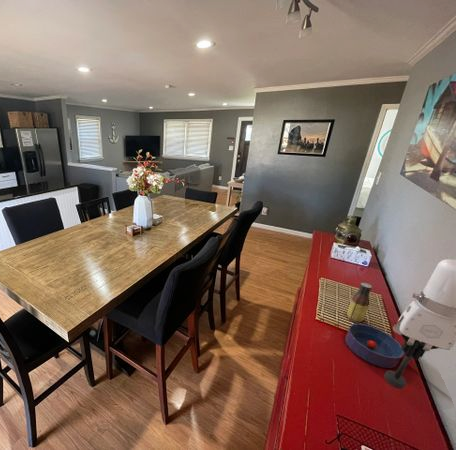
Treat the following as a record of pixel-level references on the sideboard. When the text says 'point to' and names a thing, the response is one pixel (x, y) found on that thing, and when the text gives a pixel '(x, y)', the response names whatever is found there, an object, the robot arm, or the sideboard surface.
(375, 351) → the bowl
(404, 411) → the sideboard surface
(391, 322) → the sideboard surface
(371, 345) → the tomato
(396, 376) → the dark grey rod
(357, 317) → the sauce bottle
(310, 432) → the sideboard surface
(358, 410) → the sideboard surface
